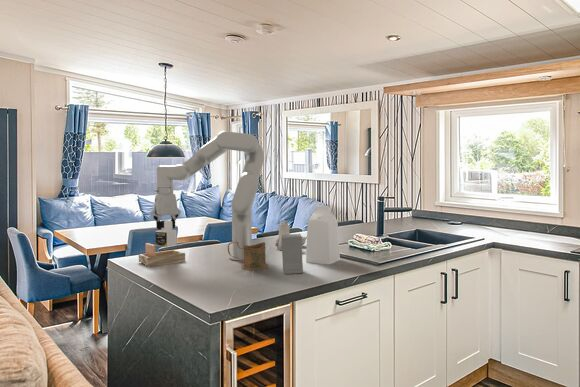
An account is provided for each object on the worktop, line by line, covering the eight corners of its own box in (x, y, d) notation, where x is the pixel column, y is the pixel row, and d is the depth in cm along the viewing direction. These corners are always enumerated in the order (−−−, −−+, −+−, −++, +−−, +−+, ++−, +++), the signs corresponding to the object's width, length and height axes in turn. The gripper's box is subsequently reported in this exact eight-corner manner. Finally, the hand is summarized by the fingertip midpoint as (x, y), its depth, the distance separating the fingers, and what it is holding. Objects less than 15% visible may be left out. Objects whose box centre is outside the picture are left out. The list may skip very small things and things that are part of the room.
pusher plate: (155, 262, 206) (155, 245, 206) (153, 262, 205) (152, 245, 205) (148, 259, 213) (147, 243, 213) (145, 260, 212) (145, 243, 212)
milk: (340, 259, 211) (339, 205, 210) (329, 264, 201) (328, 206, 200) (317, 257, 217) (316, 204, 216) (306, 262, 207) (305, 206, 206)
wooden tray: (185, 261, 214) (185, 252, 213) (148, 266, 202) (148, 257, 202) (174, 257, 223) (174, 249, 223) (138, 262, 212) (138, 254, 211)
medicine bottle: (155, 245, 212) (154, 220, 212) (166, 243, 219) (165, 219, 218) (166, 246, 209) (166, 221, 208) (177, 244, 215) (176, 219, 215)
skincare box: (302, 270, 189) (301, 233, 188) (303, 274, 182) (302, 235, 181) (282, 270, 189) (281, 233, 188) (282, 274, 182) (281, 236, 181)
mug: (225, 267, 199) (224, 240, 199) (263, 263, 205) (262, 237, 205) (231, 272, 188) (230, 243, 188) (271, 268, 194) (270, 241, 194)
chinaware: (300, 257, 229) (303, 224, 228) (269, 253, 231) (271, 221, 230) (307, 247, 256) (309, 219, 255) (278, 244, 259) (280, 216, 258)
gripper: (150, 192, 204) (151, 231, 205) (185, 190, 215) (186, 228, 216) (144, 191, 210) (145, 229, 211) (178, 190, 221) (179, 226, 222)
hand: (166, 228), depth 213 cm, fingers closed on medicine bottle, 6 cm apart
